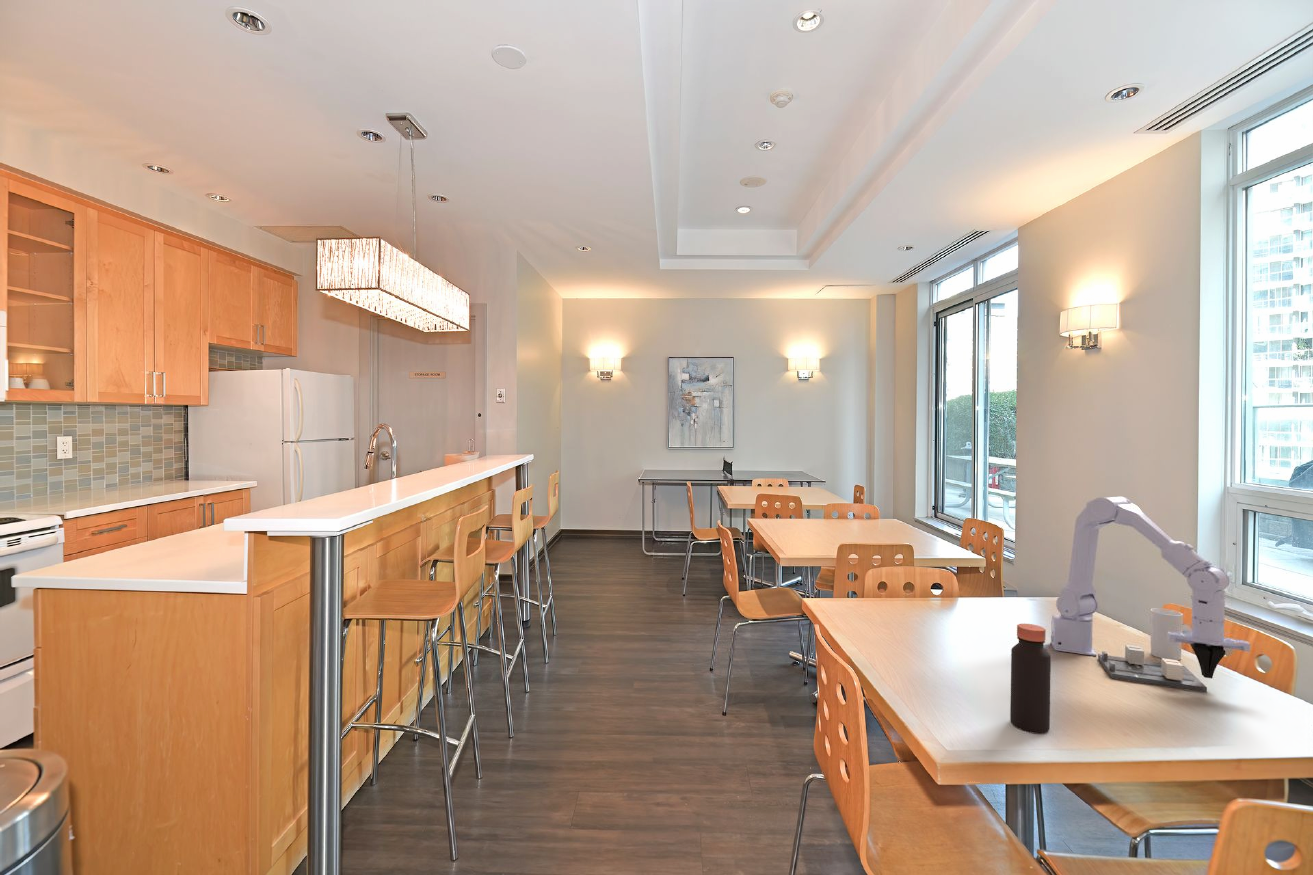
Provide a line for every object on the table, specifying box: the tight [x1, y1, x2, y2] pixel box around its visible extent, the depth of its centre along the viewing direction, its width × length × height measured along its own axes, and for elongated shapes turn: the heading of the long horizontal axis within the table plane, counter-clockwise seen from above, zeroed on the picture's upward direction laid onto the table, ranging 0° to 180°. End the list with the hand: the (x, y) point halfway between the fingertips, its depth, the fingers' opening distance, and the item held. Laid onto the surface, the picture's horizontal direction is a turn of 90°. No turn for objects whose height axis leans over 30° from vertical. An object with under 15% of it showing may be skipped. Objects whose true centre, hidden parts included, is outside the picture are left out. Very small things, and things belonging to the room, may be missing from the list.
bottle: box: [1009, 623, 1052, 734], centre depth 124 cm, size 7×7×20 cm
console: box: [1097, 650, 1208, 694], centre depth 152 cm, size 18×15×3 cm
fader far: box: [1124, 644, 1145, 665], centre depth 157 cm, size 3×4×4 cm
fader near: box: [1161, 658, 1184, 681], centre depth 147 cm, size 3×4×4 cm
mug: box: [1149, 608, 1184, 661], centre depth 167 cm, size 10×7×12 cm, turn 154°
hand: (1207, 676), depth 144 cm, fingers closed
